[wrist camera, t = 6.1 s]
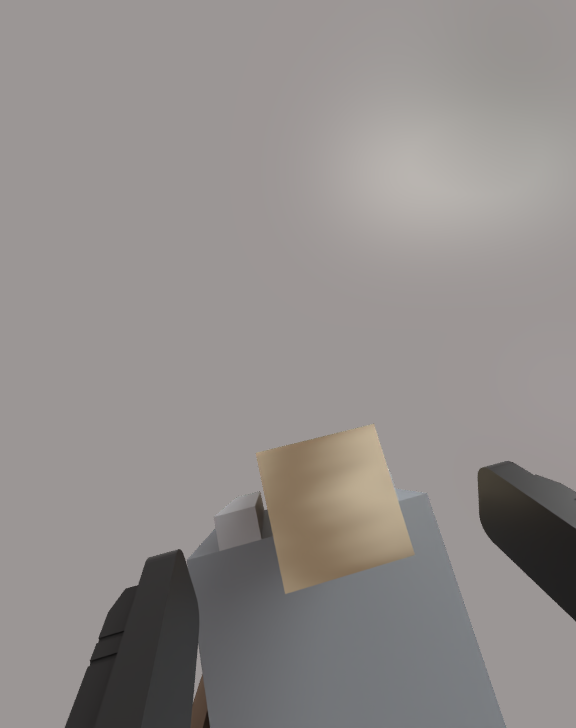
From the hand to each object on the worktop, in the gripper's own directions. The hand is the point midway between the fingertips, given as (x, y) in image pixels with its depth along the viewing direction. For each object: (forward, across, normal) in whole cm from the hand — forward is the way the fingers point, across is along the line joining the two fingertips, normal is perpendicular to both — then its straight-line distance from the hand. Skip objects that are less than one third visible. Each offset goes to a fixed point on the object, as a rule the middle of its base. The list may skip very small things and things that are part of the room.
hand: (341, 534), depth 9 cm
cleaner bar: (+10, 0, +7) cm, 12 cm away
